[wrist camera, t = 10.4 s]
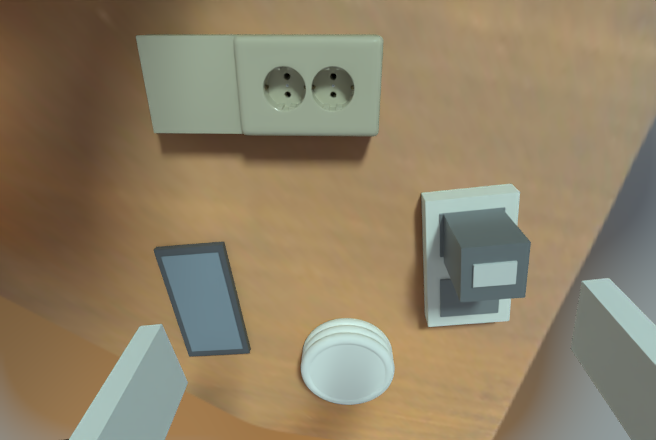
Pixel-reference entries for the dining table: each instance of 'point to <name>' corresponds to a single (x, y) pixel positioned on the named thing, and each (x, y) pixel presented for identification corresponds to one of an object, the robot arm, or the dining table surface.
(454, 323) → the plate
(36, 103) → the dining table surface
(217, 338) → the phone
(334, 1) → the dining table surface
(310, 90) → the electrical outlet
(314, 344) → the coaster
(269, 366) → the dining table surface
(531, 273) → the dining table surface
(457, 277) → the block
